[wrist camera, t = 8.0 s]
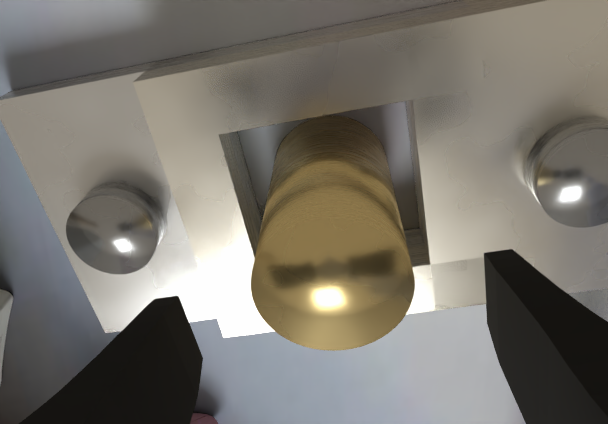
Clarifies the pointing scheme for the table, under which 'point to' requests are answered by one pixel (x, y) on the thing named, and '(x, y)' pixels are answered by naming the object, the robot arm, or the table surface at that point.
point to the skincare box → (4, 321)
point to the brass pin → (332, 240)
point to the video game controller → (202, 419)
